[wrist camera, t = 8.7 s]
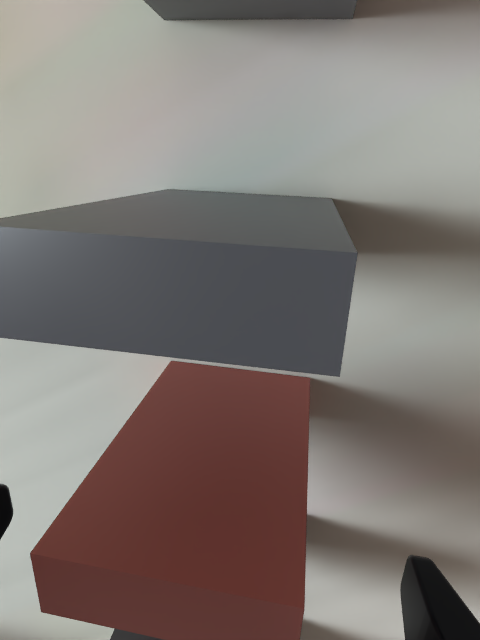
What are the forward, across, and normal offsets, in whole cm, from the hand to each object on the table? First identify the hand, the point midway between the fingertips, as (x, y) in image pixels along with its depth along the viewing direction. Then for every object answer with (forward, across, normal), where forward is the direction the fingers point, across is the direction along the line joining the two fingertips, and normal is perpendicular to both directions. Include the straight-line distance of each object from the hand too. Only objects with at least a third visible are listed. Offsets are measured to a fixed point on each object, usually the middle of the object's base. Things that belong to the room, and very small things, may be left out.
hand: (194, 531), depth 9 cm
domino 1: (+6, 0, -6) cm, 9 cm away
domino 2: (+6, 0, 0) cm, 6 cm away
